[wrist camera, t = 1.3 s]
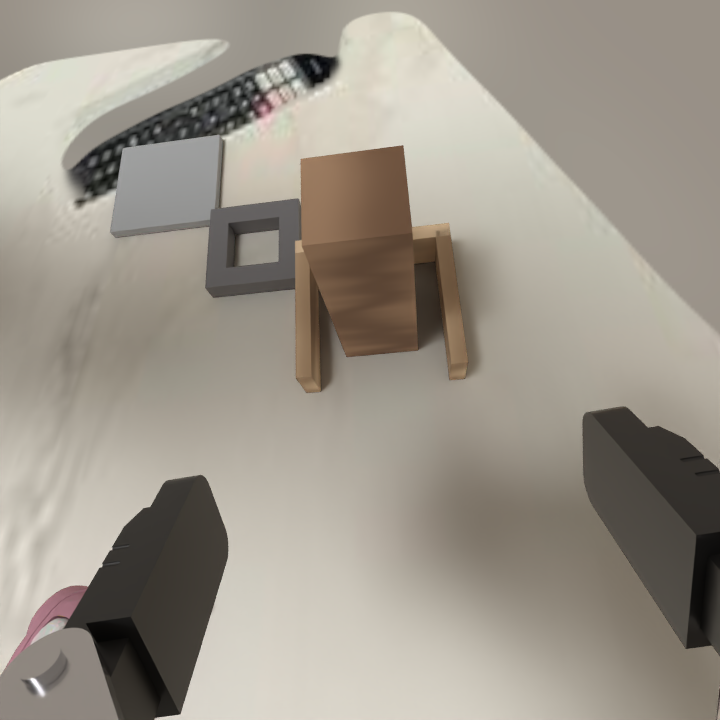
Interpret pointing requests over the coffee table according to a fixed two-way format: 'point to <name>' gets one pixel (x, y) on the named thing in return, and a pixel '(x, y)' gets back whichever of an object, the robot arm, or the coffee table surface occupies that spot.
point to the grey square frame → (247, 220)
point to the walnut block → (362, 247)
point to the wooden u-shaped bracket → (427, 247)
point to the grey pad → (167, 186)
